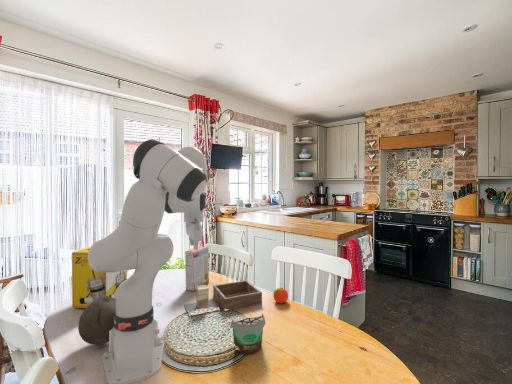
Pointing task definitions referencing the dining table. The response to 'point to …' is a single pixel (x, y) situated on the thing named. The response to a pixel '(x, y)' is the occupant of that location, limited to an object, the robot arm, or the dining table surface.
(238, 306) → the box frame
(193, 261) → the cracker box
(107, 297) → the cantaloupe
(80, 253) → the packaging box
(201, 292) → the beech block
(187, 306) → the slate mat
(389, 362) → the dining table surface
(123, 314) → the robot arm
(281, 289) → the tomato
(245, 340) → the food container
